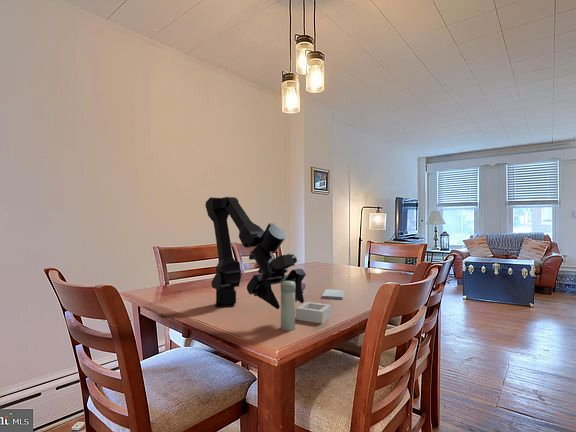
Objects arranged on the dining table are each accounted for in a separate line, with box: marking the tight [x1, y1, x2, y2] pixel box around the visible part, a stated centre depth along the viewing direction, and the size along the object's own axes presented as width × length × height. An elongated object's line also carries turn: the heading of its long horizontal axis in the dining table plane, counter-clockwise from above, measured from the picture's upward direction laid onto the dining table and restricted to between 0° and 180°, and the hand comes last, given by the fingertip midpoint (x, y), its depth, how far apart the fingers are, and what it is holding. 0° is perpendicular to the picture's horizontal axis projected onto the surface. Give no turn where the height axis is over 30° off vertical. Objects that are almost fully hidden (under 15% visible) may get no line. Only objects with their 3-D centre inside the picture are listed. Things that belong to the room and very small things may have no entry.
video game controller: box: [295, 281, 307, 299], centre depth 127 cm, size 10×5×7 cm, turn 169°
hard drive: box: [321, 288, 346, 301], centre depth 130 cm, size 2×8×12 cm
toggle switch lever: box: [280, 281, 296, 332], centre depth 91 cm, size 4×4×13 cm
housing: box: [295, 301, 333, 325], centre depth 101 cm, size 9×9×4 cm
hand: (291, 305), depth 90 cm, fingers open, 9 cm apart
